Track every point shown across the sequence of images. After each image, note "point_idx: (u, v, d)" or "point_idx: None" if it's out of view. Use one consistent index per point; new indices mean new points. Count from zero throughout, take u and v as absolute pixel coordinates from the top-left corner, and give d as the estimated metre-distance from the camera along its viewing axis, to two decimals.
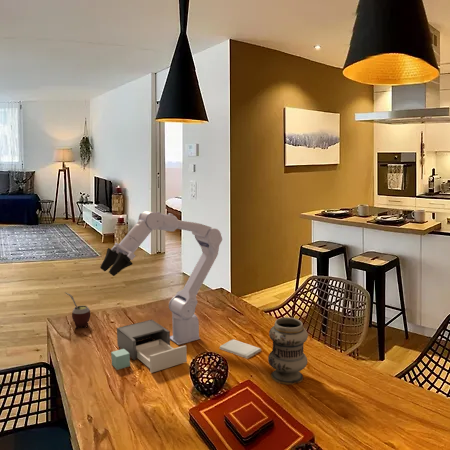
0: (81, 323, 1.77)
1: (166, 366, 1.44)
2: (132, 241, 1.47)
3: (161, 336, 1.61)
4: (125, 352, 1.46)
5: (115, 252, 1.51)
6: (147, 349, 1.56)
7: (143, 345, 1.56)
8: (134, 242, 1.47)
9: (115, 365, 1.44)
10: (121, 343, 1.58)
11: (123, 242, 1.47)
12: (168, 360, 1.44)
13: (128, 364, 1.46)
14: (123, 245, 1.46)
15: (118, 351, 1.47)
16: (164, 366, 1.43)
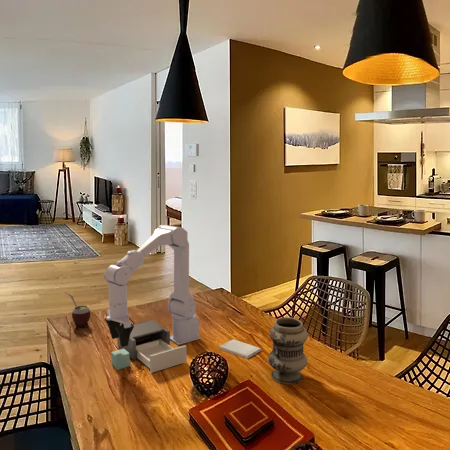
0: (81, 323, 1.77)
1: (166, 366, 1.44)
2: (118, 308, 1.41)
3: (161, 336, 1.61)
4: (125, 352, 1.46)
5: None
6: (147, 349, 1.56)
7: (143, 345, 1.56)
8: (120, 307, 1.41)
9: (115, 365, 1.44)
10: None
11: (111, 313, 1.41)
12: (168, 360, 1.44)
13: (128, 364, 1.46)
14: (114, 316, 1.41)
15: (118, 351, 1.47)
16: (164, 366, 1.43)
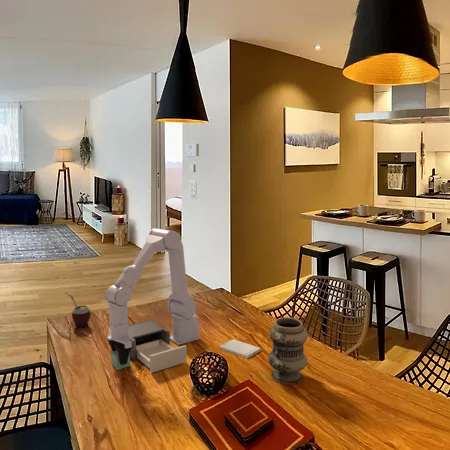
0: (81, 323, 1.77)
1: (166, 366, 1.44)
2: (119, 328, 1.42)
3: (161, 336, 1.61)
4: None
5: None
6: (147, 349, 1.56)
7: (143, 345, 1.56)
8: (121, 327, 1.42)
9: (115, 365, 1.44)
10: None
11: (112, 333, 1.42)
12: (168, 360, 1.44)
13: (128, 364, 1.46)
14: (115, 336, 1.42)
15: None
16: (164, 366, 1.43)
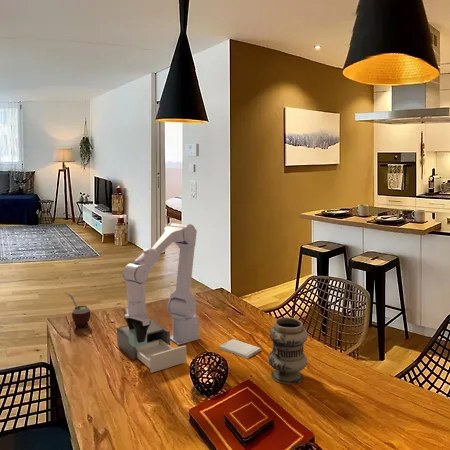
0: (81, 323, 1.77)
1: (166, 366, 1.44)
2: (137, 305, 1.42)
3: (161, 336, 1.61)
4: None
5: None
6: (147, 349, 1.56)
7: (143, 345, 1.56)
8: (139, 304, 1.42)
9: (132, 343, 1.45)
10: (121, 343, 1.58)
11: (130, 311, 1.43)
12: (168, 360, 1.44)
13: (145, 342, 1.46)
14: (132, 314, 1.43)
15: None
16: (164, 366, 1.43)
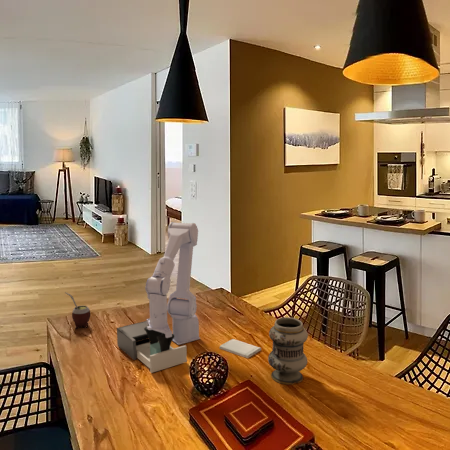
0: (81, 323, 1.77)
1: (166, 366, 1.44)
2: (159, 318, 1.45)
3: None
4: None
5: None
6: (147, 349, 1.56)
7: (143, 345, 1.56)
8: (161, 317, 1.45)
9: None
10: (121, 343, 1.58)
11: (152, 323, 1.45)
12: (168, 360, 1.44)
13: None
14: (155, 326, 1.45)
15: (157, 344, 1.50)
16: (164, 366, 1.43)
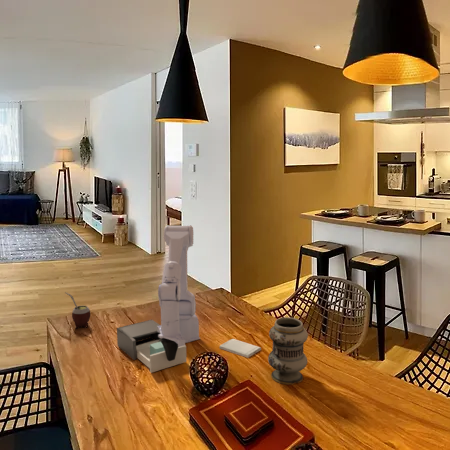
0: (81, 323, 1.77)
1: (166, 366, 1.44)
2: (171, 325, 1.38)
3: None
4: None
5: None
6: (147, 349, 1.56)
7: (143, 345, 1.56)
8: (173, 324, 1.38)
9: None
10: (121, 343, 1.58)
11: (164, 331, 1.39)
12: (167, 360, 1.44)
13: None
14: (166, 334, 1.39)
15: (157, 344, 1.50)
16: (164, 366, 1.43)
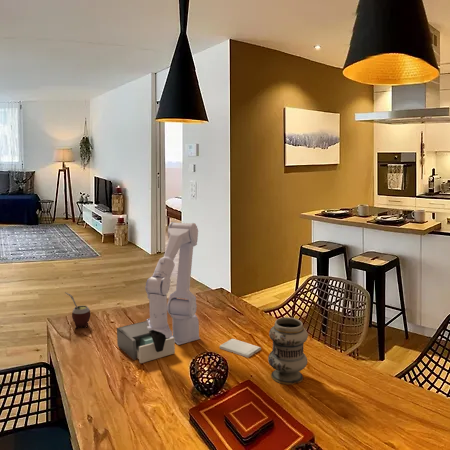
0: (81, 323, 1.77)
1: (155, 357, 1.50)
2: (159, 318, 1.45)
3: None
4: None
5: None
6: (137, 342, 1.62)
7: None
8: (161, 317, 1.45)
9: None
10: (121, 343, 1.58)
11: (152, 323, 1.45)
12: (156, 351, 1.50)
13: None
14: (155, 326, 1.45)
15: (146, 336, 1.56)
16: (153, 357, 1.50)
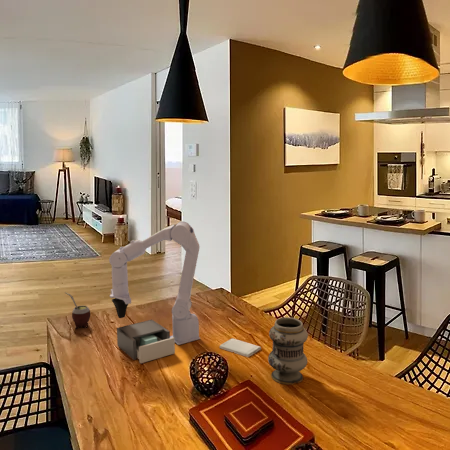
0: (81, 323, 1.77)
1: (155, 357, 1.50)
2: (120, 287, 1.62)
3: (161, 336, 1.61)
4: (153, 337, 1.55)
5: None
6: (137, 342, 1.62)
7: None
8: (122, 286, 1.62)
9: None
10: (121, 343, 1.58)
11: (114, 291, 1.62)
12: (156, 351, 1.50)
13: None
14: (116, 294, 1.62)
15: (146, 336, 1.56)
16: (153, 357, 1.50)
